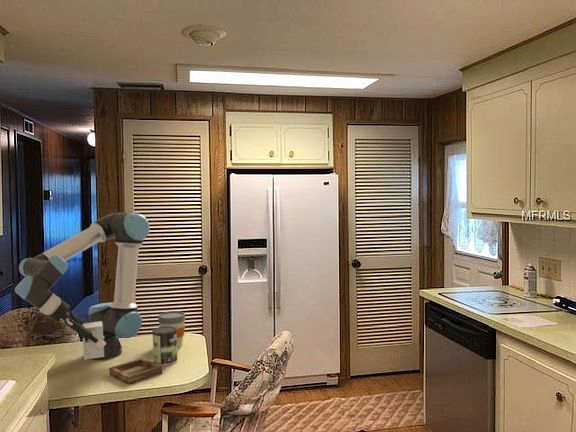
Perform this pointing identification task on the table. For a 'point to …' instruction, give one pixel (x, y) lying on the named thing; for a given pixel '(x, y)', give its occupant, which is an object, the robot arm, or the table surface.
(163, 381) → the table surface
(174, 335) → the coffee can
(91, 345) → the supplement box
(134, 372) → the walnut tray
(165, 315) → the reusable coffee cup
